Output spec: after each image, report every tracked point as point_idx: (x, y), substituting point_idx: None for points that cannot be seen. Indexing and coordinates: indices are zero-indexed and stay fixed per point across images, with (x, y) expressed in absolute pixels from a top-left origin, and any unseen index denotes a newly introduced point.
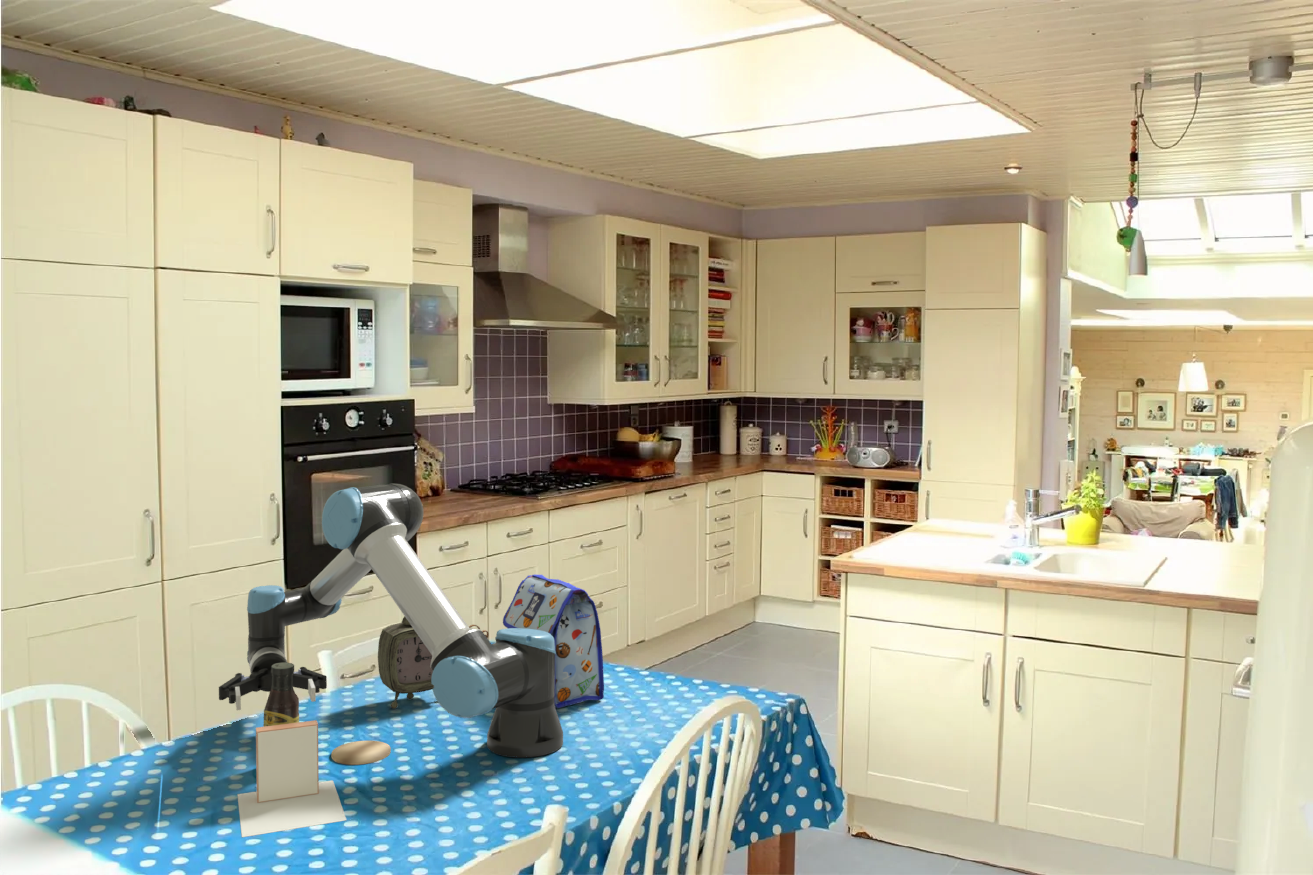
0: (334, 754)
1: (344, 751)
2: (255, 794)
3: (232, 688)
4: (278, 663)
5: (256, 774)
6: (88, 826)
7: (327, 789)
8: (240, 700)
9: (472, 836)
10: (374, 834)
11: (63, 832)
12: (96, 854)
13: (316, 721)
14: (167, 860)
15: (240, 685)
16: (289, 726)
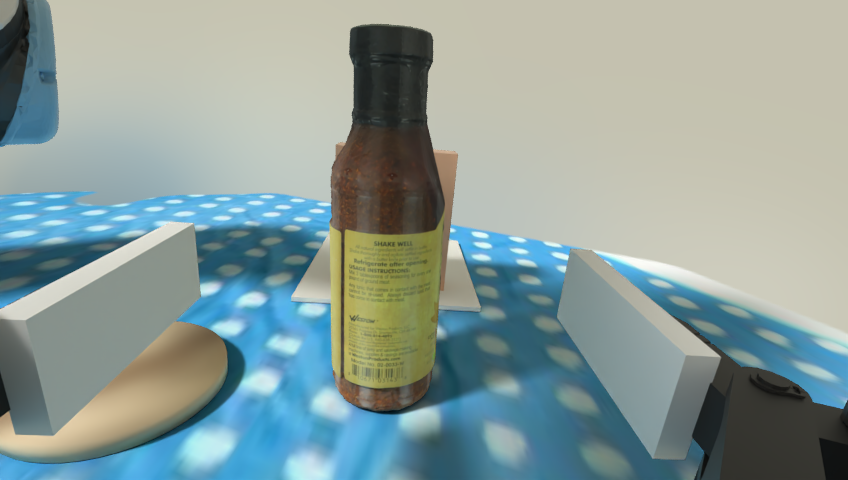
0: (211, 373)
1: (167, 381)
2: (446, 299)
3: (742, 374)
4: (405, 27)
5: (447, 246)
6: (705, 308)
7: (317, 279)
8: (566, 271)
9: (225, 201)
10: (311, 220)
11: (732, 306)
12: (626, 263)
13: (338, 144)
14: (532, 241)
15: (724, 425)
16: None
